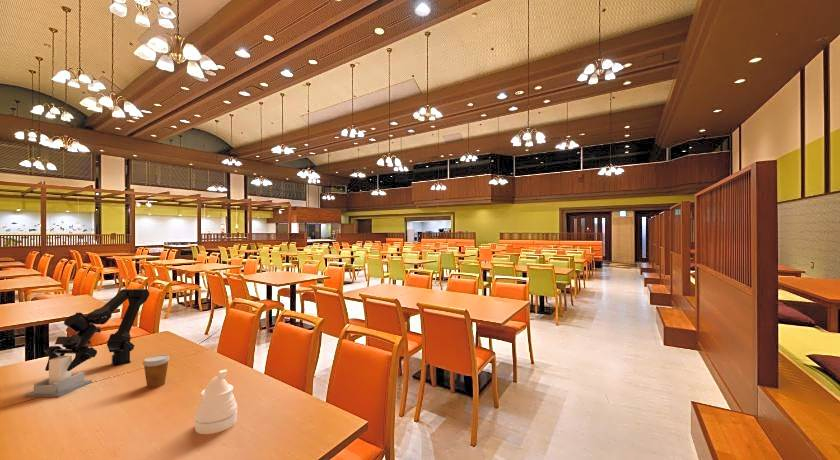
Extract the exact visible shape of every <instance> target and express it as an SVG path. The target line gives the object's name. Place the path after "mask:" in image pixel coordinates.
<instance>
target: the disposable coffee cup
mask: <svg viewBox="0 0 840 460" xmlns="http://www.w3.org/2000/svg"><path fill="white" fill-rule="evenodd" d="M170 359H171V358H170V357H169V355H168V354H156V355H150V356H148V357H146V358H145V359H144V360H143V362H142V365H143V368H144V374H145V381H146V388H148V389H154V388H159V387H162V386H163V385H165V383H166V378H167V373H168V366H169V361H170Z"/></svg>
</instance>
